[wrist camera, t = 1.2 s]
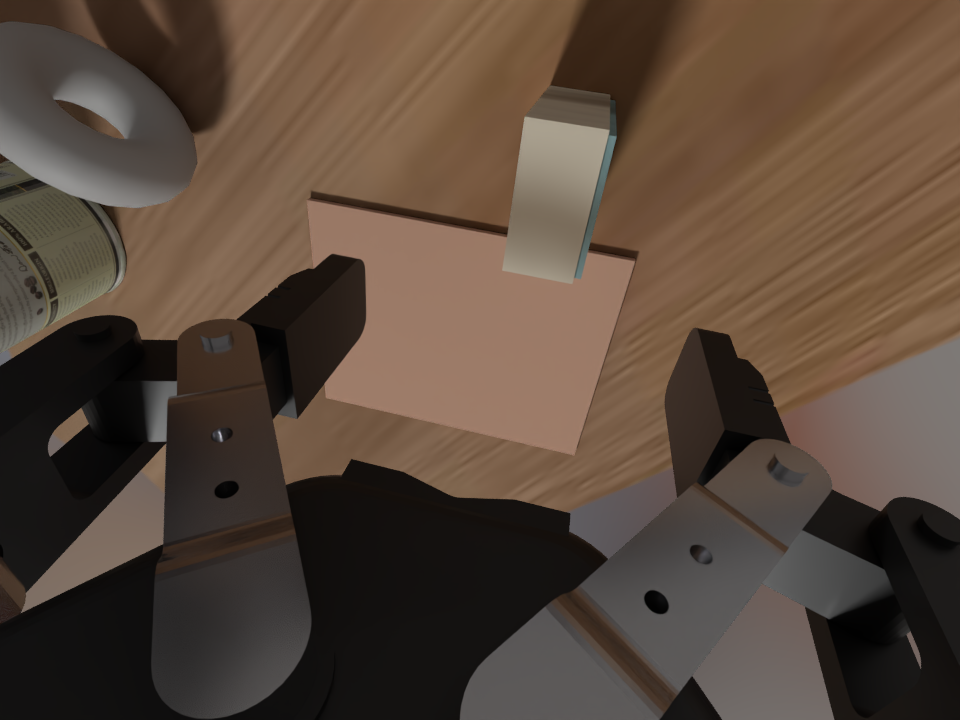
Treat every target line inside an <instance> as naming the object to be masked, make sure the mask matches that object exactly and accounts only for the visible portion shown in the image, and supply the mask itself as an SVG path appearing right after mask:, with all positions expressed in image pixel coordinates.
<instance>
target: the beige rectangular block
mask: <svg viewBox="0 0 960 720" xmlns="http://www.w3.org/2000/svg"><path fill="white" fill-rule="evenodd" d="M616 138H617V129H616V103H615V101H614V100H610V94H603V93H596V92H590V91H583V90H577V89H570V88H564V87H557V86H551V85H550V86H549V87H548V88H547V90H546V91H545V92H544V93H543V95H542V96H541V97H540V98H539V100H538V101H537V102H536V103H535V105H534V106H533V107H532V108H531V109H530V111H529V112H528V113H527V114H526V116H525V118H524V125H523V132H522V139H521V146H520V153H519V159H518V166H517V173H516V180H515V187H514V193H513V200H512V207H511V214H510V221H509V227H508V234H507V241H506V248H505V255H504V261H503V268H502V271H507V272H512V273H517V274H523V275H528V276H533V277H538V278H543V279H548V280H553V281H559V282H564V283H569V284H573V280H574V278H577V279H581V277H582V273H583V269H584V265H585V261H586V257H587V253H588V249H589V245H590V241H591V237H592V233H593V229H594V225H595V221H596V217H597V213H598V209H599V205H600V201H601V197H602V193H603V189H604V185H605V181H606V177H607V173H608V169H609V165H610V161H611V157H612V154H613V150H614V146H615V142H616Z"/></svg>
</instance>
